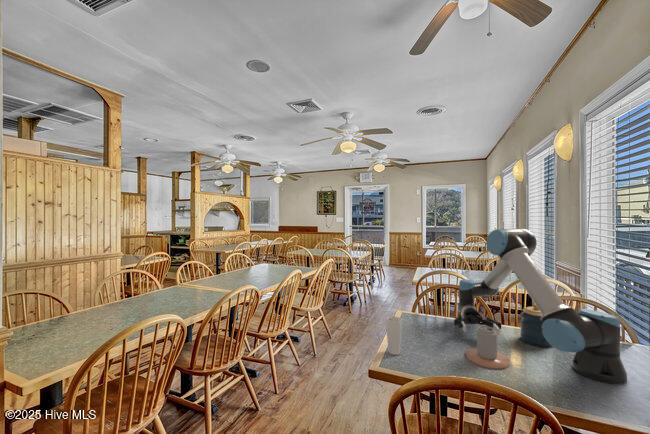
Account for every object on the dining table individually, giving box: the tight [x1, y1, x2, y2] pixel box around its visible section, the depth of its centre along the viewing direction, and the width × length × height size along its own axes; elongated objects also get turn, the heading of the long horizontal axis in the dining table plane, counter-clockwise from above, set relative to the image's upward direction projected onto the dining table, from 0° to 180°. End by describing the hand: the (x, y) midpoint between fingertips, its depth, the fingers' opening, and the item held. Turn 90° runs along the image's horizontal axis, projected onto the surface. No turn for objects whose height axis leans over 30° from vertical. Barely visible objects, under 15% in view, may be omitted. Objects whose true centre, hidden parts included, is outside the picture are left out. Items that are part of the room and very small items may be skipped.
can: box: [476, 325, 498, 360], centre depth 123 cm, size 8×8×12 cm
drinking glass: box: [385, 315, 403, 356], centre depth 129 cm, size 7×7×15 cm
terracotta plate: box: [465, 347, 511, 370], centre depth 122 cm, size 16×16×1 cm
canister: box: [519, 303, 553, 348], centre depth 138 cm, size 13×13×18 cm
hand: (481, 330), depth 131 cm, fingers open, 13 cm apart
